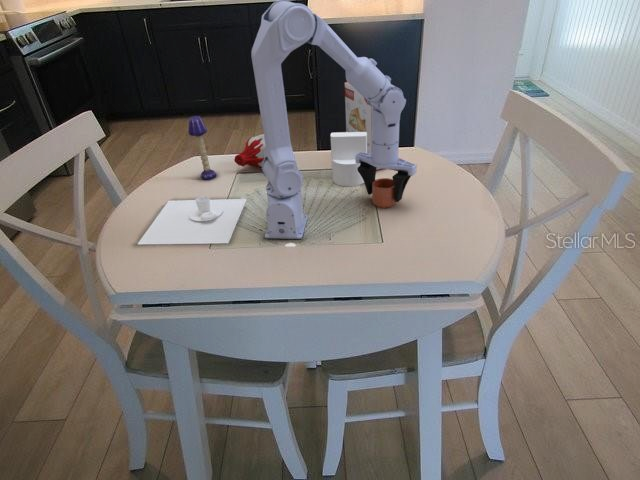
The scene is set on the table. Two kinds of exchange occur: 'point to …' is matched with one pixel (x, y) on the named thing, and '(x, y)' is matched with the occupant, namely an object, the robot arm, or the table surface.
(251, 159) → the white lump red frill
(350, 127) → the cracker box
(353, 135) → the cylinder with rectangular tab
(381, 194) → the pot
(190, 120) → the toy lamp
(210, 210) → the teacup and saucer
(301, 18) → the robot arm
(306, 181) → the table surface
